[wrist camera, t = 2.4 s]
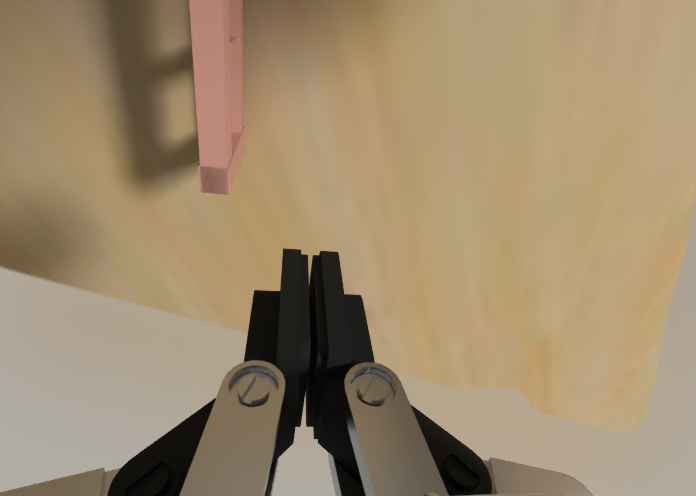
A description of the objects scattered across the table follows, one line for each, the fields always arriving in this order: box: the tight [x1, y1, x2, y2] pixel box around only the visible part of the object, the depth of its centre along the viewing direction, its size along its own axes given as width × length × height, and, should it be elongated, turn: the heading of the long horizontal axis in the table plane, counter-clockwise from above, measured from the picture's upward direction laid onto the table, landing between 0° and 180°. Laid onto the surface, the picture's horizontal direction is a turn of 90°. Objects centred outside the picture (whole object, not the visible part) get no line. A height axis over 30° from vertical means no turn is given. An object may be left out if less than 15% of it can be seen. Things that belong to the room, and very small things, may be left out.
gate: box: [189, 0, 245, 195], centre depth 21 cm, size 14×2×7 cm, turn 172°
